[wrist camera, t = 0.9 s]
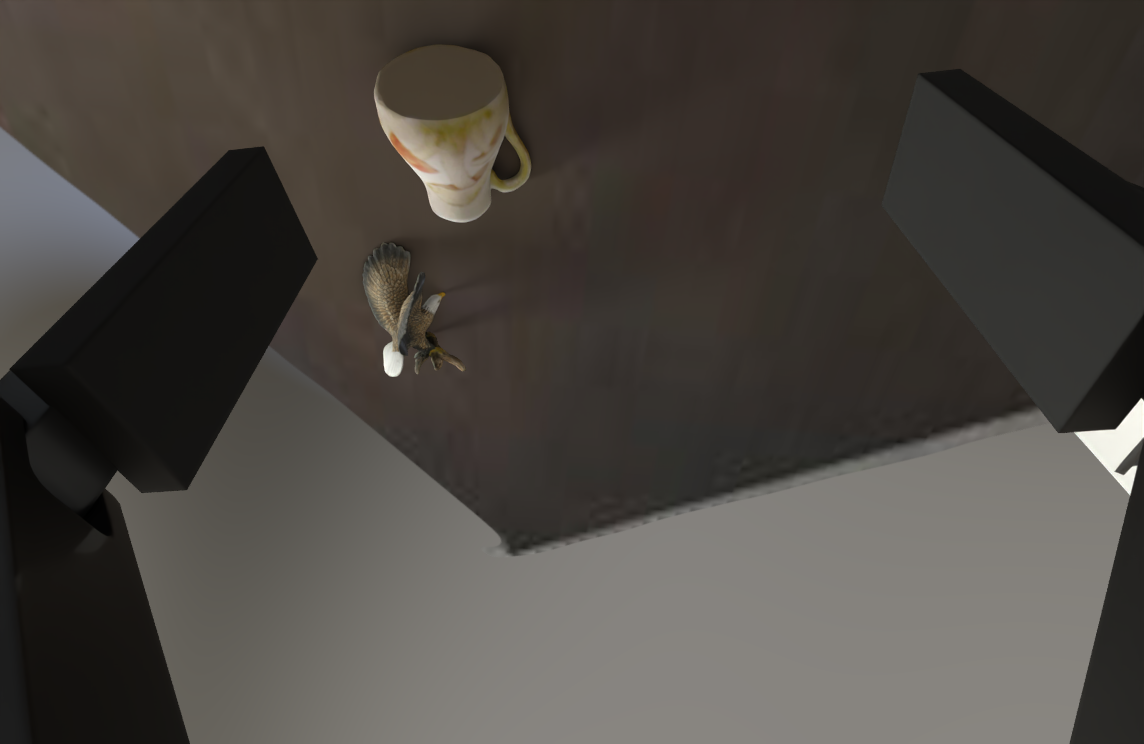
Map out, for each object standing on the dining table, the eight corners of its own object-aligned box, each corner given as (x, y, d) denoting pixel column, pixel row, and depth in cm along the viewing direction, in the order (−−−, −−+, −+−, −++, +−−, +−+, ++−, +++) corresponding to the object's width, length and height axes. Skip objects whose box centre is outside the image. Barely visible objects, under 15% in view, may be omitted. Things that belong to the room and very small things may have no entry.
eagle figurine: (494, 331, 47) (446, 250, 40) (443, 403, 44) (381, 330, 37) (426, 309, 50) (370, 231, 43) (374, 374, 48) (306, 302, 40)
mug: (420, 210, 41) (341, 209, 31) (438, 58, 38) (358, 7, 29) (523, 233, 40) (473, 238, 31) (549, 79, 37) (503, 32, 28)
